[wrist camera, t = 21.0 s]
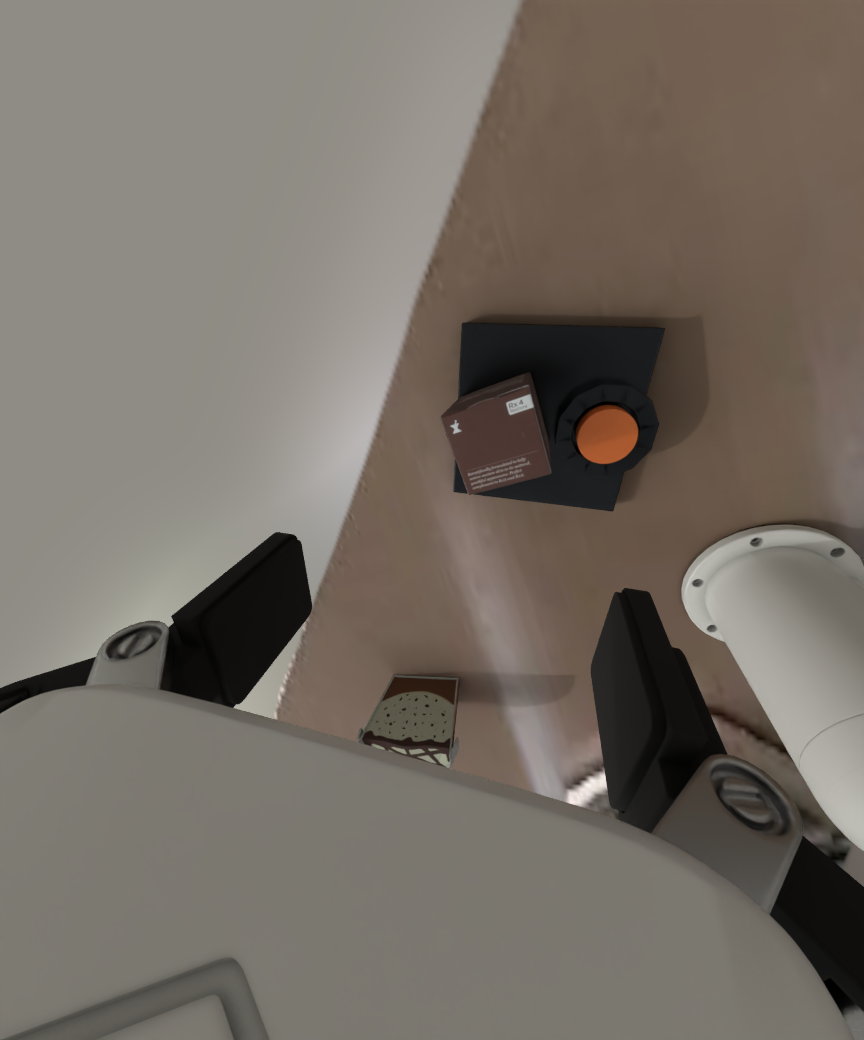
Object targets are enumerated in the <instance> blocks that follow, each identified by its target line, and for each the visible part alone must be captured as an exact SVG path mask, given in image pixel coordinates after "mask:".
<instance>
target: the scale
mask: <svg viewBox="0 0 864 1040" xmlns="http://www.w3.org/2000/svg"><path fill="white" fill-rule="evenodd" d="M664 331H665V328H656V327H618V326H579V325H540V324H501V323H462V332H461V351H460V371H459V390H458V399H459V398H460V397H462V396H464V395H467V394H470V393H473V392H475V391H478V390H480V389H483V388H486V387H489V386H491V385H494V384H497V383H499V382H502V381H505V380H508V379H511V378H514V377H516V376H519V375H522V374H525V373H528V372H529V373H530V374H531V376H532V380H533V384H534V387H535V391H536V394H537V398H538V401H539V405H540V408H541V412H542V416H543V420H544V424H545V428H546V431H547V436H548V440H549V446H550V460H551V474H549V475H546V476H542V477H538V478H535V479H531V480H526V481H523V482H519V483H515V484H511V485H507V486H504V487H500V488H496V489H492V490H488V491H484V492H480V493H476V494H475V495H483V496H492V497H500V498H508V499H516V500H524V501H533V502H541V503H549V504H557V505H565V506H574V507H582V508H590V509H598V510H606V511H613V510H614V507H615V503H616V500H617V496H618V493H619V489H620V485H621V482H622V478H623V475H624V471H627V470H630V469H632V468H633V467H634V466H635V465H636V464H637V463H638V462H639V461H640V460H641V459H642V458H643V457H644V456H645V455H646V454H647V453H648V452H649V451H650V450H651V448H652V446H653V442H654V439H655V436H656V433H657V430H658V426H659V422H658V419H657V415H656V412H655V409H654V406H653V402H652V401H651V399H649V398H648V397H646V394H647V391H648V387H649V383H650V380H651V376H652V373H653V369H654V366H655V362H656V359H657V355H658V352H659V348H660V345H661V341H662V338H663V334H664ZM602 405H615V406H619V407H621V408H623V409H624V410H626V411H627V412H628V413H629V414H630V415H631V416H632V417H633V419H634V420H635V422H636V424H637V427H638V438H637V442H636V444H635V446H634V448H633V449H632V450H631V452H630V453H629V454H628V455H626V456H625V457H624V458H622V459H620V460H618V461H616V462H613V463H608V464H599V463H595V462H592V461H590V460H588V459H587V458H585V457H584V456H583V455H582V453H581V452H580V450H579V447H578V444H577V441H576V429H577V426H578V423H579V421H580V420H581V418H582V417H583V416H584V415H585V414H586V413H587V412H588V411H590V410H591V409H593V408H595V407H598V406H602ZM453 492H459V493H467V494H468V492H467V489H466V487H465V484H464V481H463V478H462V476H461V473H460V470H459V467H458V464H457V462H456V460H455V467H454V487H453Z"/></svg>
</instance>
